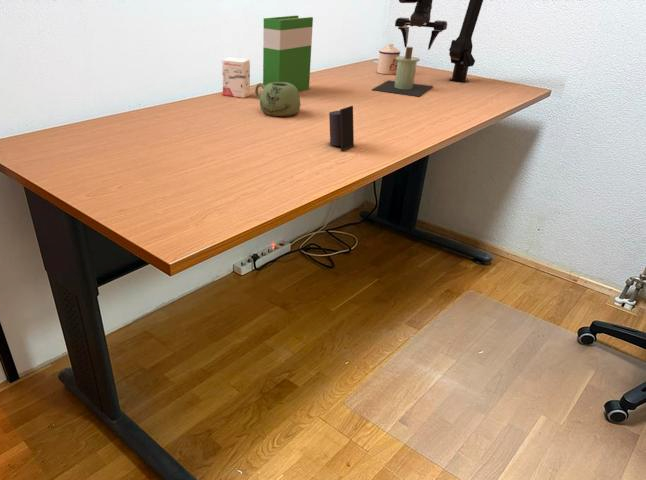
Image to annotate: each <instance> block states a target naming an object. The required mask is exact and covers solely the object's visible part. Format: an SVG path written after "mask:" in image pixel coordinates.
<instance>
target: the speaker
mask: <svg viewBox="0 0 646 480" xmlns="http://www.w3.org/2000/svg"><path fill="white" fill-rule="evenodd" d="M328 115H329V116H328V117H329V121H328V122H329V144H330V146H333V147H340V151H341V152H344V151H346V150H349V149H351V148H354V146H355V139H354V137H355V136H354V134H355V133H354V105H349V106H347V107H343V108H341V109H339V110H334V111H330V112H329V113H328Z"/></svg>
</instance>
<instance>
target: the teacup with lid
mask: <svg viewBox="0 0 646 480" xmlns="http://www.w3.org/2000/svg"><path fill="white" fill-rule="evenodd" d="M378 54H379V55H378V60H377V67H376V68H377V70H376V72H377V73H378V74H379V75H388V76H389V75H390V76H393V75H396V72H397V65H398V60H397V59H396V57H399V56H400V54H401V50H400V49H398V48H397V47H395V46H394V43H388V44H387V46H385V47H382V48H380V49H379V51H378Z"/></svg>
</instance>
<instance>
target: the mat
mask: <svg viewBox="0 0 646 480" xmlns="http://www.w3.org/2000/svg"><path fill="white" fill-rule="evenodd" d="M394 86H395V80H387V81H385V82H383V83H381V84H379V85H377V86H376V87H374V88H372V89H371V91H375V92H382V93H389V94H395V95H403V96H409V97H417V98H419V97H421V96H422V95H423V94H425V93H426V92H428V91H429V90H430V89H433V85H425V84H418V83H413V88H412V89H408V90H405V89H398V88H395V87H394Z"/></svg>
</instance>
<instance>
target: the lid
mask: <svg viewBox="0 0 646 480" xmlns="http://www.w3.org/2000/svg"><path fill="white" fill-rule="evenodd" d="M413 49H414V47H413V46H407V47H405V54H404V55H401V56H400V55H399V57H396V59H397V60H399V61H405V62H417V63H418V62H420V58H419V57H416V56H413V51H414V50H413Z"/></svg>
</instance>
